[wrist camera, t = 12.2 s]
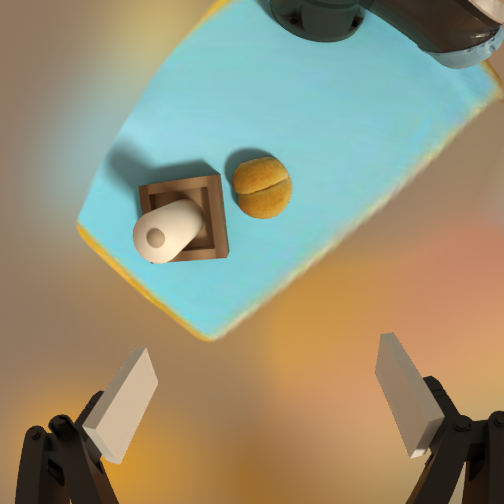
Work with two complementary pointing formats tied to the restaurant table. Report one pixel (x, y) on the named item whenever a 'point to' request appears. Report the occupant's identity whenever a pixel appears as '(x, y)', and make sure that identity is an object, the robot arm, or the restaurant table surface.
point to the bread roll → (262, 187)
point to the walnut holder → (210, 200)
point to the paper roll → (167, 230)
